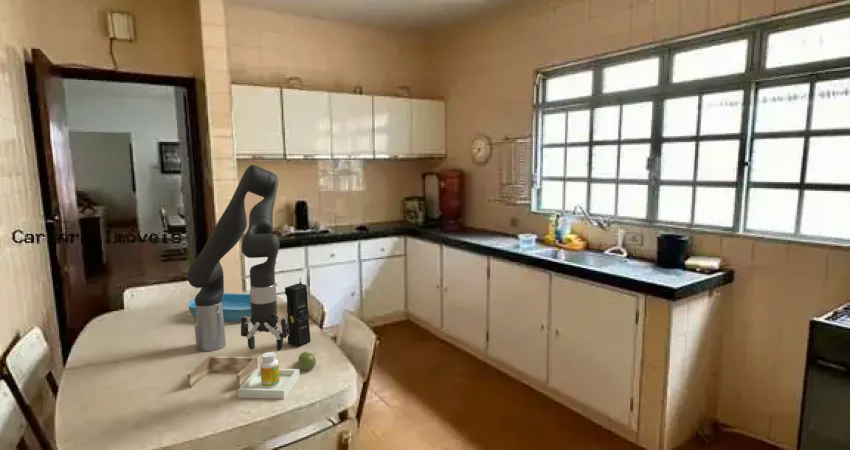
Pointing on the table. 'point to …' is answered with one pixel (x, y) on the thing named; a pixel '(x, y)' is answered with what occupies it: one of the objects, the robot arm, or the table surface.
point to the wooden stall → (224, 368)
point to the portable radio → (297, 314)
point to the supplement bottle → (269, 370)
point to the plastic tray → (256, 390)
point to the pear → (307, 361)
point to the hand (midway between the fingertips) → (265, 349)
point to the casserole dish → (231, 306)
